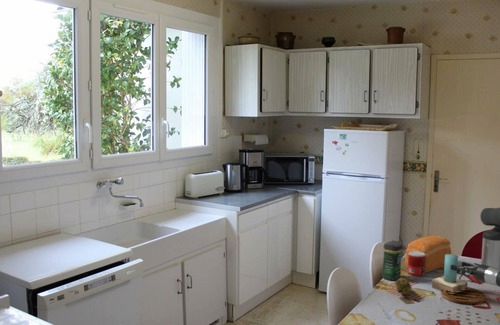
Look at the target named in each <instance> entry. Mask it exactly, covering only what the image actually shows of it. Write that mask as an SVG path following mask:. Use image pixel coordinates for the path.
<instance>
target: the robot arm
mask: <svg viewBox="0 0 500 325" xmlns="http://www.w3.org/2000/svg"><path fill="white" fill-rule="evenodd" d="M479 217H480V221H481V223H482V224H483V226H491V227H492V228H491V229H488V230H485V231H484V232H483V233H482V245H481V246H482V248H481V260H480V261H481V262H480V264H479V263H476V262H473V263H472V262H471V263H469V262H467V261H461V266H458V265H457V266H455V265H451V270H454V271H457V272H456V273H457V275H461V276H464V277H470V276H472V277H475V278H476V280H477V281H479V282H482V283H484V284H488V285H490V286H496V287H499V288H500V207H496V208H495V207H485V208H483V209H482V210H481V212H480V216H479Z"/></svg>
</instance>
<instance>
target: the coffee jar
mask: <svg viewBox="0 0 500 325" xmlns="http://www.w3.org/2000/svg"><path fill="white" fill-rule="evenodd" d="M402 251H403V244H402V243H401V241H398V240H393V239H392V240H391V241H387V242H385V243H384V244H383V260H382V261H383V262H382V270H381V271H382V272H381V274H382V275H381V278H383V279H385V280H387V281H397V280H398V279H400V278H401V273H402V272H401V270H402V268H401V264H402Z"/></svg>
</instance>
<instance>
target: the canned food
mask: <svg viewBox="0 0 500 325" xmlns="http://www.w3.org/2000/svg"><path fill="white" fill-rule="evenodd" d="M424 268H425V254H424V253H422V252H417V251H411V252H409V256H408V268H407V273H408V275H409V276H412V277H423V276H424V275H425V273H424Z"/></svg>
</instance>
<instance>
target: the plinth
mask: <svg viewBox="0 0 500 325" xmlns="http://www.w3.org/2000/svg"><path fill="white" fill-rule="evenodd" d="M431 282H432V284H431V288H432V289H435V290H437V291H440V292H442V291H441V290H448V291H451V292H456V291H460V290H463V289H465V288H467V289H468V281H465V280H462V279H460V278H456V282H455V283H449V282H445V281H444V275H442V276H440V277H436V278H433V279H432V281H431Z"/></svg>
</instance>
